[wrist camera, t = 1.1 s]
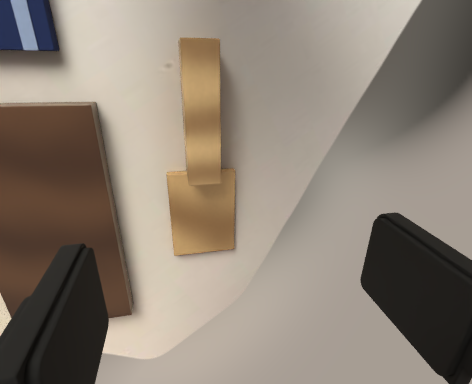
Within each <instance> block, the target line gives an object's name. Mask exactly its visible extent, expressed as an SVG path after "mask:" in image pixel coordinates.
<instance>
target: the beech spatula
mask: <svg viewBox="0 0 472 384" xmlns="http://www.w3.org/2000/svg"><path fill="white" fill-rule="evenodd" d="M178 44H179V60H180V75H181V91H182V107H183V123H184V139H185V155H186V170H187V171H181V172H167V183H168V194H169V204H170V215H171V226H172V236H173V247H174V255H175V256H177V255H186V254H195V253H203V252H212V251H221V250H229V249H234V217H235V170H234V169H233V168H231V169H221V113H220V39H216V38H180V39H179V41H178Z"/></svg>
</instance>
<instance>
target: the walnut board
mask: <svg viewBox="0 0 472 384" xmlns="http://www.w3.org/2000/svg"><path fill="white" fill-rule="evenodd" d="M81 243H84V244H85V245H86V247H87V248H93V250H94V254H95V259H96V263H97V267H98V272H99V276H100V281H101V285H102V290H103V294H104V299H105V303H106V308H107V312H108V318H113V317H119V316H126V315H131V314H132V308H133V300H132V294H131V289H130V284H129V278H128V273H127V268H126V262H125V257H124V251H123V246H122V241H121V235H120V230H119V224H118V219H117V214H116V208H115V203H114V198H113V192H112V187H111V181H110V176H109V171H108V165H107V160H106V154H105V149H104V144H103V138H102V133H101V127H100V122H99V117H98V111H97V106H96V102H53V103H0V293H1V295H2V297H3V300H4V302H5V304H6V307H7V309H8V311H9V313H10V316H11V318H12V317H13V315H14V314H15V312H16V311H17V309H18V307H19V306H20V304H21V303H22V301H23V300H24V299H25V298H26V297H28V296H31V295H32V293H33V292H34V290H35V288H36V287H37V285H38V283H39V282H40V280H41V278H42V277H43V275H44V274H45V272H46V270H47V269H48V267H49V265H50V264H51V262H52V260H53V259H54V257H55V255H56V254H57V252H58V250H59V249H60V247H61V246H63V245H71V244H81Z"/></svg>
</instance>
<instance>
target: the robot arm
mask: <svg viewBox="0 0 472 384" xmlns="http://www.w3.org/2000/svg"><path fill="white" fill-rule="evenodd" d="M361 285H362V287H363V289H364V290H365V291H366V293H367V294H368V295H369V296H370V297H371V298H372V299H373V301H374V302H375V303H376V304H377V305H378V306H379V308H380V309H381V310H382V311H383V312H384V313H385V314H386V316H387V317H388V318H389V319H390V320H391V321H392V323H393V324H394V325H395V326H396V327H397V328H398V329H399V331H400V332H401V333H402V334H403V335H404V336H405V338H406V339H407V340H408V341H409V342H410V343H411V345H412V346H413V347H414V348H415V349H416V350H417V352H418V353H419V354H420V355H421V356H422V357H423V358H424V360H425V361H426V362H427V363H428V364H429V365H430V367H431V368H432V369H433V370H434V371H435V372H436V373H437V374H438V375H440V376H443V378H444V379H445V380H446V381H447V382H448V383H449V384H469V382H470V380H471V378H472V260H470V259H469V258H467V257H466V256H464V255H463V254H461V253H459V252H458V251H457V250H455V249H453V248H452V247H450V246H449V245H447V244H445V243H444V242H443V241H441V240H440V239H438V238H436V237H435V236H433V235H431V234H430V233H428V232H427V231H426V230H424V229H422V228H421V227H419V226H418V225H416V224H415V223H413V222H412V221H410V220H409V219H407V218H405V217H404V216H402V215H401V214H399V213H387V214H381V215H379V216H378V217H377V219H375V221H374V223H373V227H372V232H371V236H370V240H369V245H368V249H367V253H366V257H365V262H364V266H363V271H362V275H361ZM108 322H109V319H108V312H107V308H106V303H105V299H104V294H103V290H102V285H101V281H100V276H99V272H98V267H97V263H96V259H95V254H94V250H93V248H87V247H86V245H85V244H84V243H81V244H71V245H63V246H61V247H60V249H59V250H58V252H57V254H56V255H55V257H54V259H53V260H52V262H51V264H50V265H49V267H48V269H47V270H46V272H45V274H44V275H43V277H42V278H41V280H40V282H39V283H38V285H37V287H36V288H35V290H34V292H33V293H32V295H31V296H28V297H26V298H25V299H24V300H23V301H22V303H21V304H20V306H19V307H18V309H17V311H16V312H15V314H14V315H13V317H12V319H11V320H10V322H9V323H8V325H7V327H6V328H5V330H4V331H3V333H2V335H1V336H0V384H95V380H96V376H97V372H98V368H99V363H100V359H101V355H102V351H103V347H104V342H105V338H106V334H107V330H108Z"/></svg>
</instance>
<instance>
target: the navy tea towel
mask: <svg viewBox="0 0 472 384" xmlns="http://www.w3.org/2000/svg"><path fill="white" fill-rule="evenodd" d="M0 50H34V51H59V46H58V41H57V37H56V32H55V28H54V23H53V19H52V14H51V9H50V5H49V0H0Z"/></svg>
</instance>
